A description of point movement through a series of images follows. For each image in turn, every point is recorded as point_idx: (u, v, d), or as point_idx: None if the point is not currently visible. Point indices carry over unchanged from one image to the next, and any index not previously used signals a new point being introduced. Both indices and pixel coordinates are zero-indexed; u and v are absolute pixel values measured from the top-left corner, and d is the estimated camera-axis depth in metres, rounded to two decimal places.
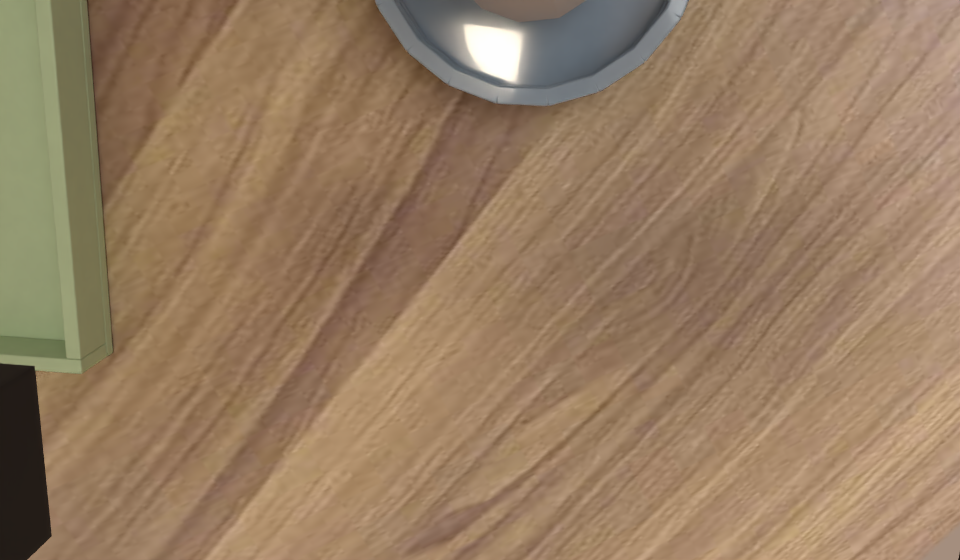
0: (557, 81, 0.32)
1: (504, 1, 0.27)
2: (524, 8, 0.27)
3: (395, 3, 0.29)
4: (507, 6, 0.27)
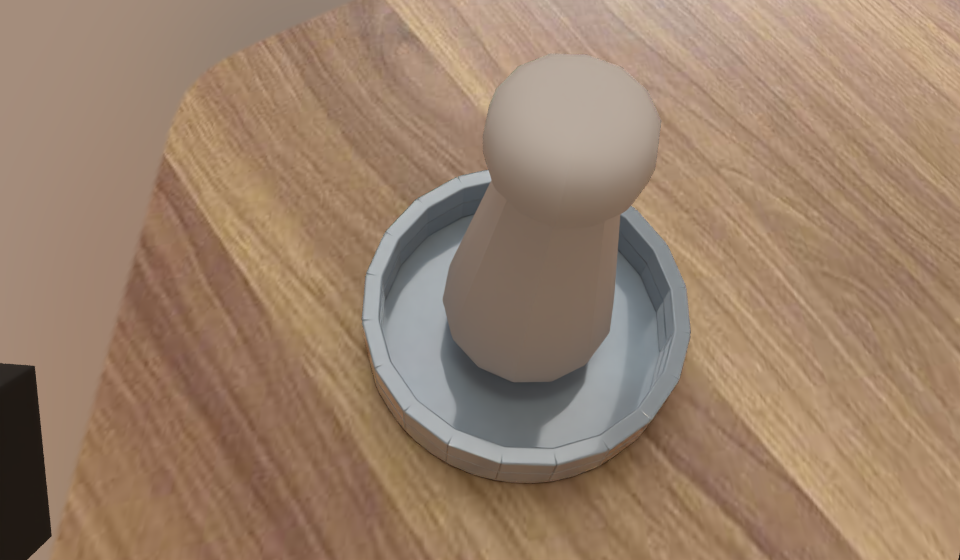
0: (657, 343, 0.32)
1: (604, 307, 0.27)
2: (611, 298, 0.28)
3: (559, 446, 0.28)
4: (605, 313, 0.28)
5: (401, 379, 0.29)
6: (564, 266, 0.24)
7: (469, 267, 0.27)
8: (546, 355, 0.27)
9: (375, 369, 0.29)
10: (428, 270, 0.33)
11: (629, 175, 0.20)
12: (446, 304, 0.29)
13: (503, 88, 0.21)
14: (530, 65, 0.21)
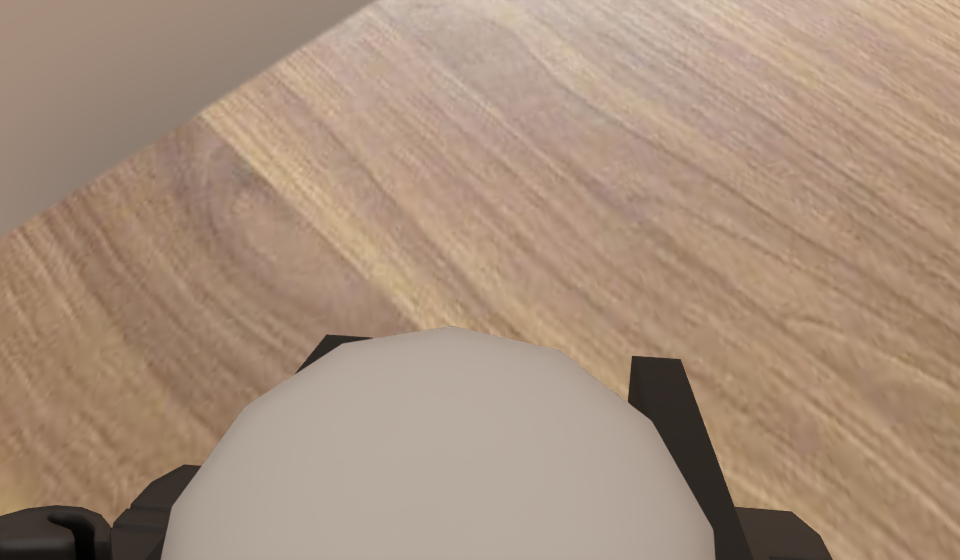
0: None
1: None
2: None
3: None
4: None
5: None
6: None
7: None
8: None
9: None
10: None
11: None
12: None
13: (185, 512, 0.06)
14: (268, 414, 0.07)
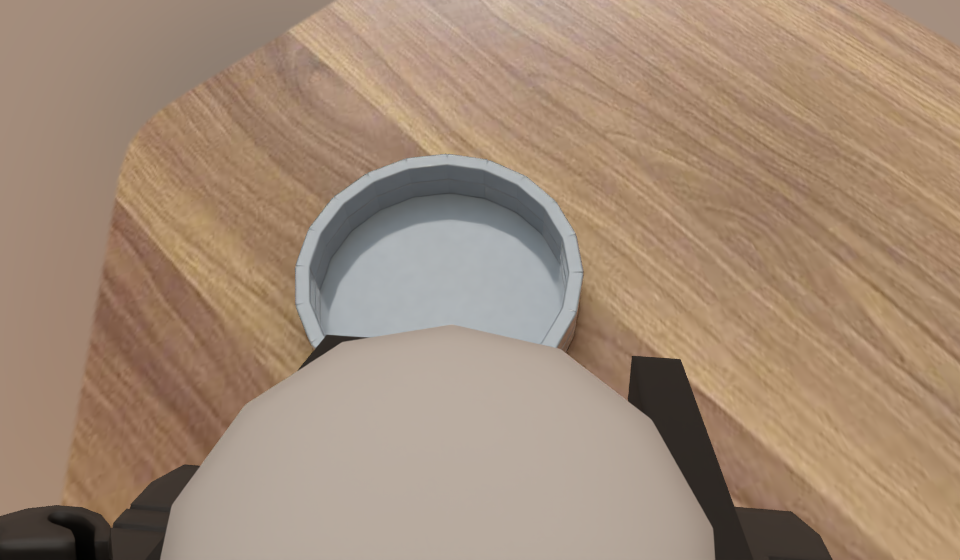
0: (563, 289, 0.36)
1: None
2: None
3: None
4: None
5: None
6: None
7: None
8: None
9: (311, 344, 0.33)
10: (355, 258, 0.37)
11: None
12: None
13: (185, 510, 0.06)
14: (268, 412, 0.07)
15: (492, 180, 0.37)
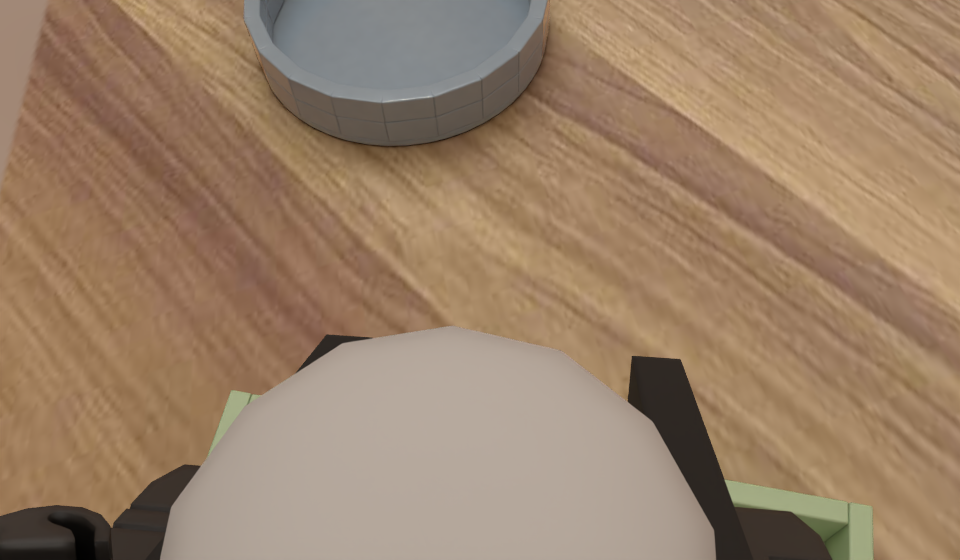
0: None
1: None
2: None
3: (435, 84, 0.30)
4: None
5: (283, 55, 0.31)
6: None
7: None
8: None
9: (259, 52, 0.31)
10: None
11: None
12: None
13: (185, 512, 0.06)
14: (268, 414, 0.07)
15: None
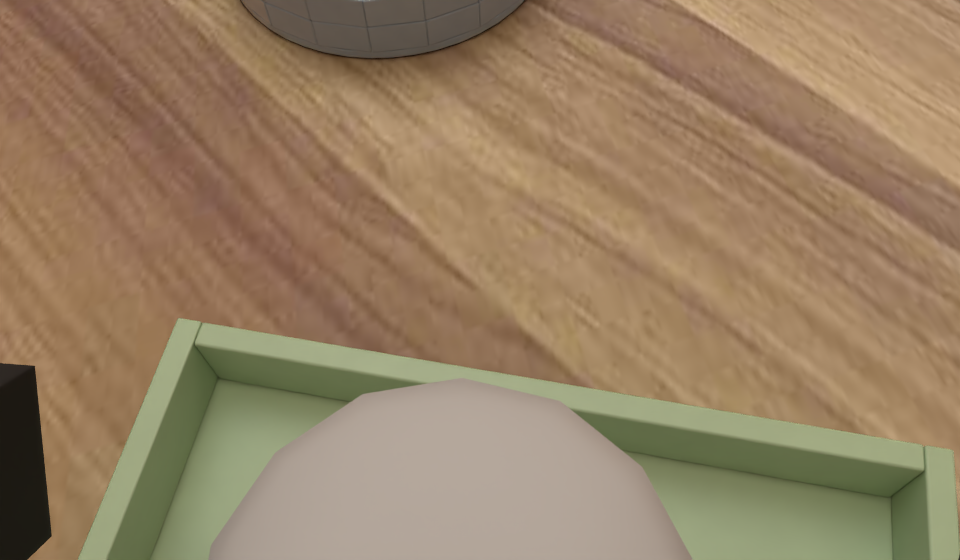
0: None
1: None
2: None
3: None
4: None
5: None
6: None
7: None
8: None
9: None
10: None
11: None
12: None
13: (224, 550, 0.07)
14: (297, 462, 0.07)
15: None
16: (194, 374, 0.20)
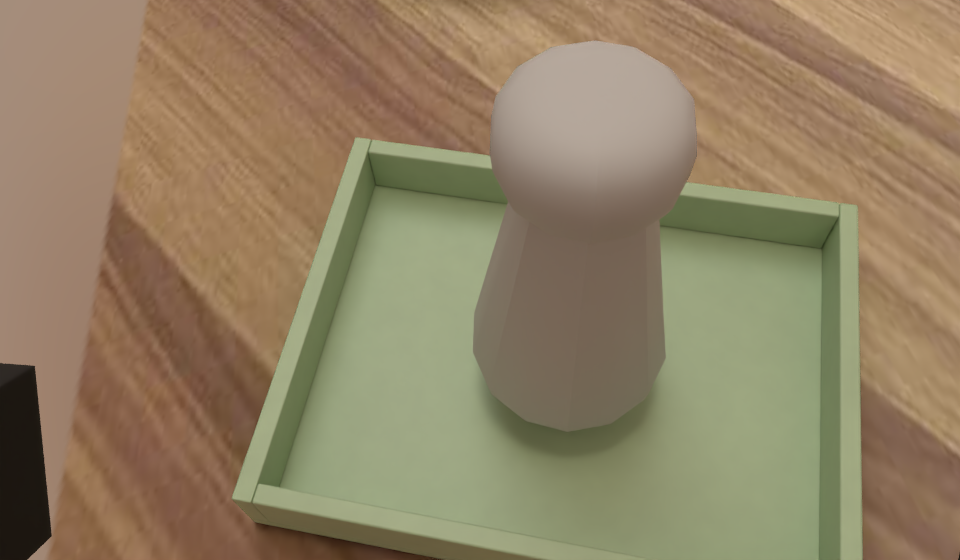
0: None
1: (656, 329, 0.24)
2: None
3: None
4: (659, 336, 0.24)
5: None
6: (606, 288, 0.20)
7: (497, 309, 0.23)
8: (600, 395, 0.24)
9: None
10: None
11: (670, 166, 0.17)
12: (478, 356, 0.26)
13: (504, 93, 0.18)
14: (531, 62, 0.18)
15: None
16: (366, 174, 0.31)
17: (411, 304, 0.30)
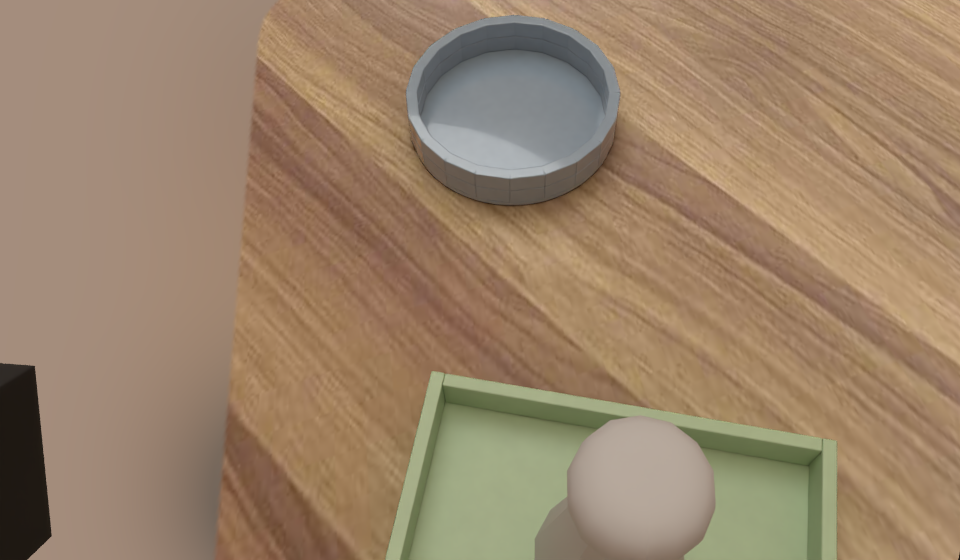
0: (603, 112, 0.48)
1: None
2: None
3: (545, 165, 0.44)
4: None
5: (439, 144, 0.45)
6: None
7: None
8: None
9: (421, 141, 0.45)
10: (445, 94, 0.49)
11: (697, 531, 0.24)
12: None
13: (579, 465, 0.25)
14: (597, 440, 0.25)
15: (548, 34, 0.49)
16: (440, 401, 0.39)
17: (479, 512, 0.37)
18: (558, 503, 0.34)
